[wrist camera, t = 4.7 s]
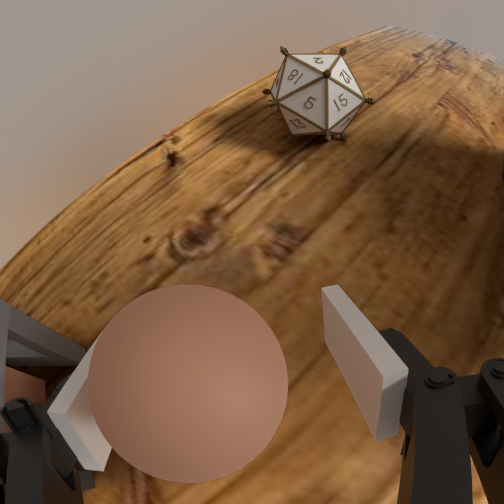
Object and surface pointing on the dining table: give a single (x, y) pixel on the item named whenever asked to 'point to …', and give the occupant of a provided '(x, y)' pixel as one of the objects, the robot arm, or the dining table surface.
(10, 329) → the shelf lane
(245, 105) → the dining table surface
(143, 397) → the block
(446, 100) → the dining table surface
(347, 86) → the game die
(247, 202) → the dining table surface
